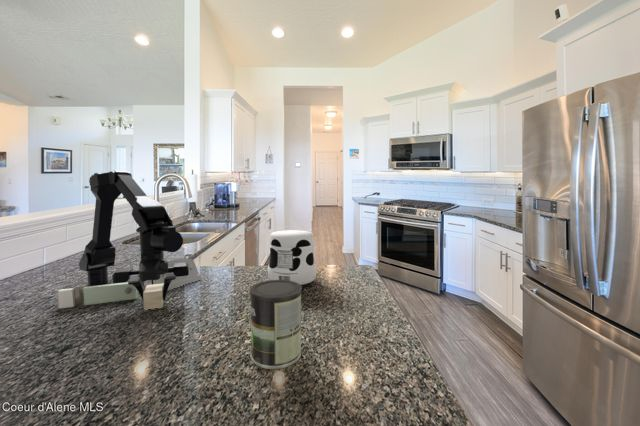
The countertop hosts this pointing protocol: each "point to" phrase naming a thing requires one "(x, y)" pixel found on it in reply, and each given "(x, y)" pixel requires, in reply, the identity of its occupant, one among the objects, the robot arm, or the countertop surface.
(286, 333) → the coffee can
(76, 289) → the gate post
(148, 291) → the block
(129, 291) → the door
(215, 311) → the countertop surface
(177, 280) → the grey curved upright block
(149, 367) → the countertop surface
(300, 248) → the milk container
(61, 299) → the wall stub
